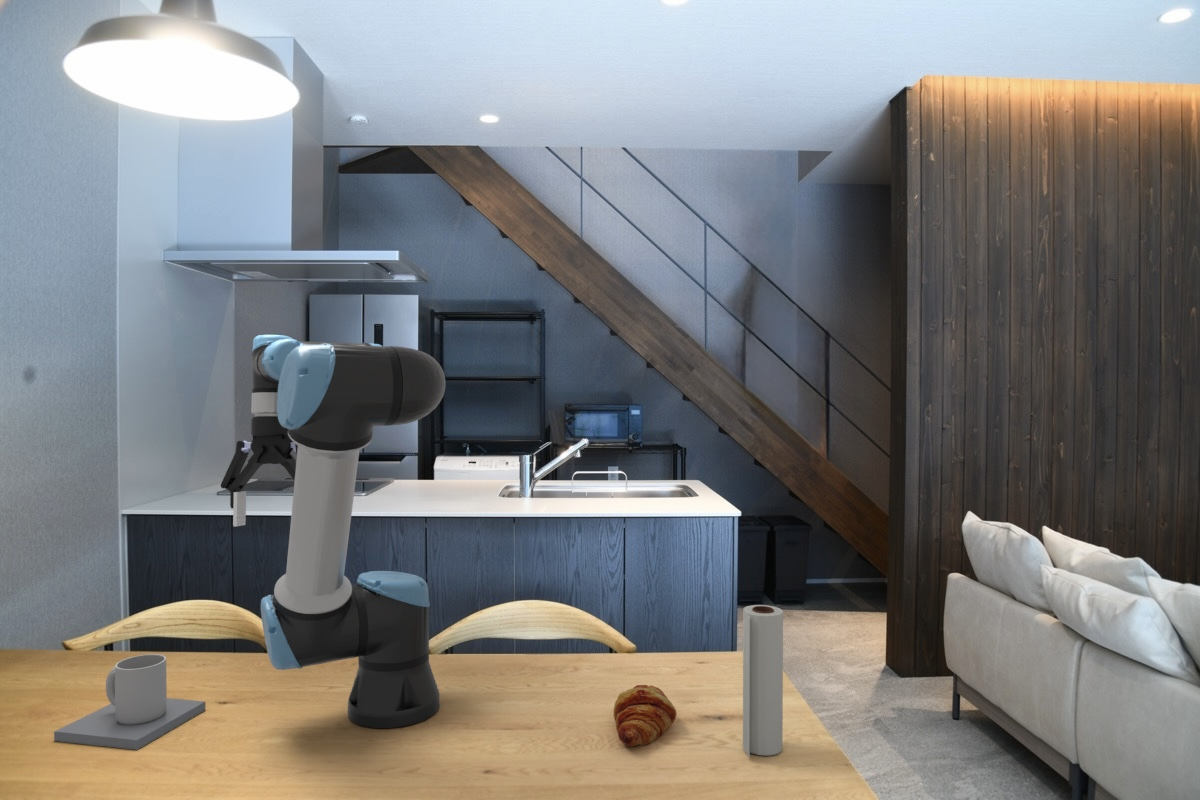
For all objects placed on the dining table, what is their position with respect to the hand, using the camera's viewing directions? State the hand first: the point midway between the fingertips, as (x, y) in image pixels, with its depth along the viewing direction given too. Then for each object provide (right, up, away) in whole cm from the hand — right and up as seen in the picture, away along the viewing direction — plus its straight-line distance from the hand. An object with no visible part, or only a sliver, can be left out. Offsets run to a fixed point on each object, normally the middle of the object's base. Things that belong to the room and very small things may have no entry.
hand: (271, 526), depth 152 cm
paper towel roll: (+87, -29, -31) cm, 97 cm away
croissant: (+70, -29, -23) cm, 80 cm away
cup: (-13, -27, -23) cm, 38 cm away
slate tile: (-13, -29, -23) cm, 39 cm away
